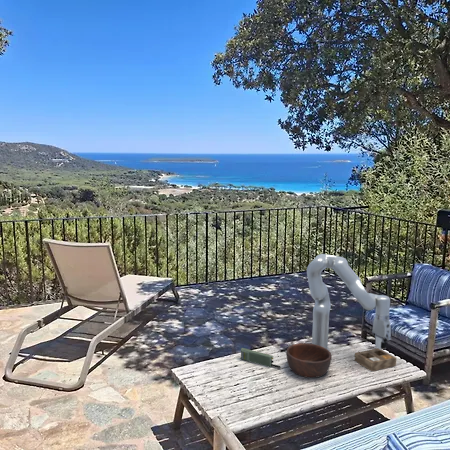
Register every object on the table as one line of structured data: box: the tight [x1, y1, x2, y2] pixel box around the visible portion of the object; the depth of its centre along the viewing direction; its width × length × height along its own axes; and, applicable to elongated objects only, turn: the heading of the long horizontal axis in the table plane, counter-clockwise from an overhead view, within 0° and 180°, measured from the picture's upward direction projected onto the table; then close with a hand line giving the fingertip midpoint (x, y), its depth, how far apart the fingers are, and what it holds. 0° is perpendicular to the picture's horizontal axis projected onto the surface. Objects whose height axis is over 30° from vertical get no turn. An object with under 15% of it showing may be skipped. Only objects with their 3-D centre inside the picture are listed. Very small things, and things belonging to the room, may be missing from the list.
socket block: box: [354, 348, 397, 372], centre depth 238 cm, size 18×14×5 cm
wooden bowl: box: [285, 342, 333, 379], centre depth 229 cm, size 25×25×10 cm
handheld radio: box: [240, 347, 282, 369], centre depth 235 cm, size 7×3×25 cm
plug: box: [374, 334, 387, 350], centre depth 239 cm, size 4×4×8 cm
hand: (380, 346), depth 240 cm, fingers closed on plug, 4 cm apart
